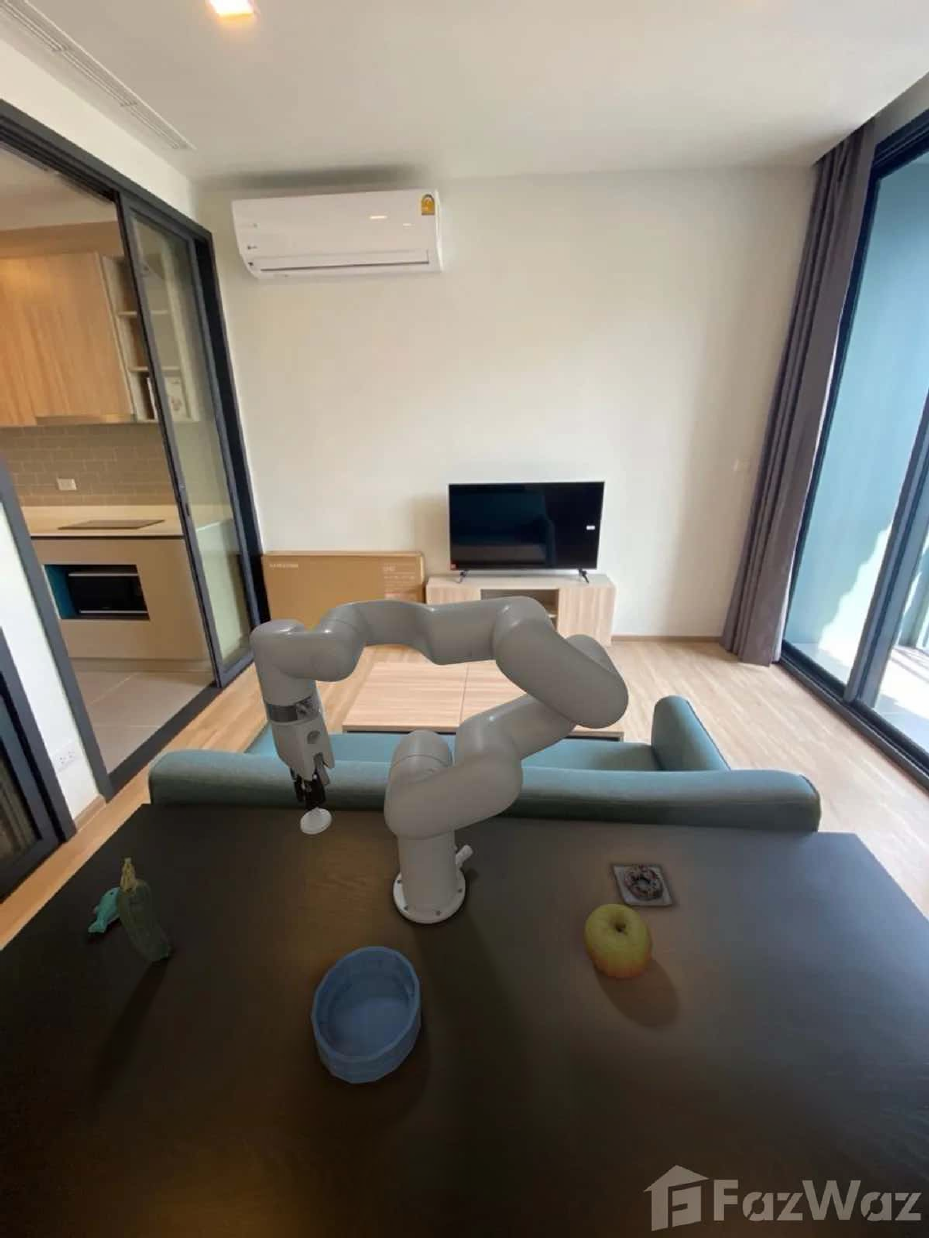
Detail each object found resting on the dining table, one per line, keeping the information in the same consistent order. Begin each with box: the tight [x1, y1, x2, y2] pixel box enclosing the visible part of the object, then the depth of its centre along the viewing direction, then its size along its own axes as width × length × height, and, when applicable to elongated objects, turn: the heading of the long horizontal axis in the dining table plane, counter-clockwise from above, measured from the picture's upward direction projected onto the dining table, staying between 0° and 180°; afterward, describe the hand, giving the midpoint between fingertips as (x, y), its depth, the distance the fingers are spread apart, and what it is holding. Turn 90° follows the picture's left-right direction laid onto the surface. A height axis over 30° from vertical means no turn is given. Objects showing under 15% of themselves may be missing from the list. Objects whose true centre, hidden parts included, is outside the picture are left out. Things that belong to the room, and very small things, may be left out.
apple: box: [583, 902, 653, 980], centre depth 75 cm, size 10×10×8 cm
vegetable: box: [115, 857, 171, 963], centre depth 73 cm, size 4×4×20 cm
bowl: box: [310, 945, 422, 1084], centre depth 68 cm, size 14×14×5 cm
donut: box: [612, 863, 673, 907], centre depth 87 cm, size 8×8×2 cm
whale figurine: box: [87, 886, 121, 933], centre depth 84 cm, size 6×7×4 cm
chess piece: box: [299, 779, 332, 835], centre depth 80 cm, size 5×5×10 cm
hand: (311, 800), depth 80 cm, fingers closed on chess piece
